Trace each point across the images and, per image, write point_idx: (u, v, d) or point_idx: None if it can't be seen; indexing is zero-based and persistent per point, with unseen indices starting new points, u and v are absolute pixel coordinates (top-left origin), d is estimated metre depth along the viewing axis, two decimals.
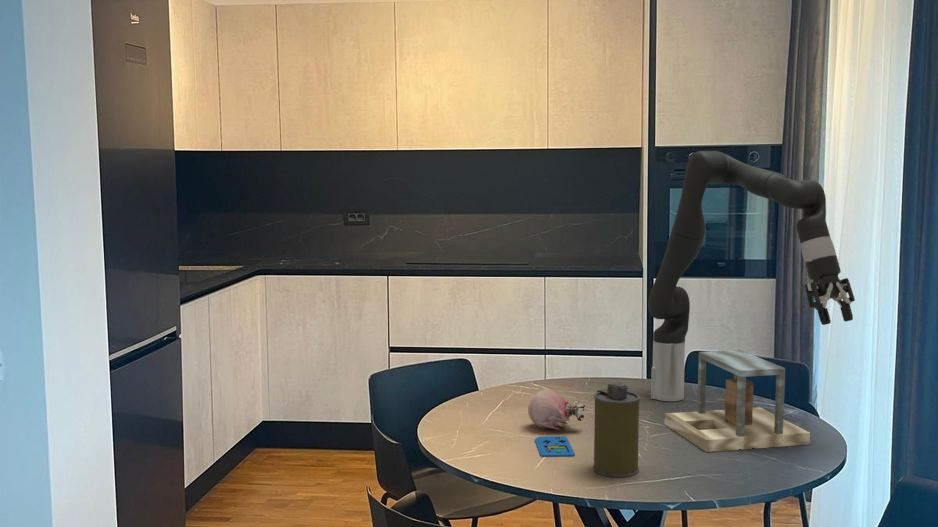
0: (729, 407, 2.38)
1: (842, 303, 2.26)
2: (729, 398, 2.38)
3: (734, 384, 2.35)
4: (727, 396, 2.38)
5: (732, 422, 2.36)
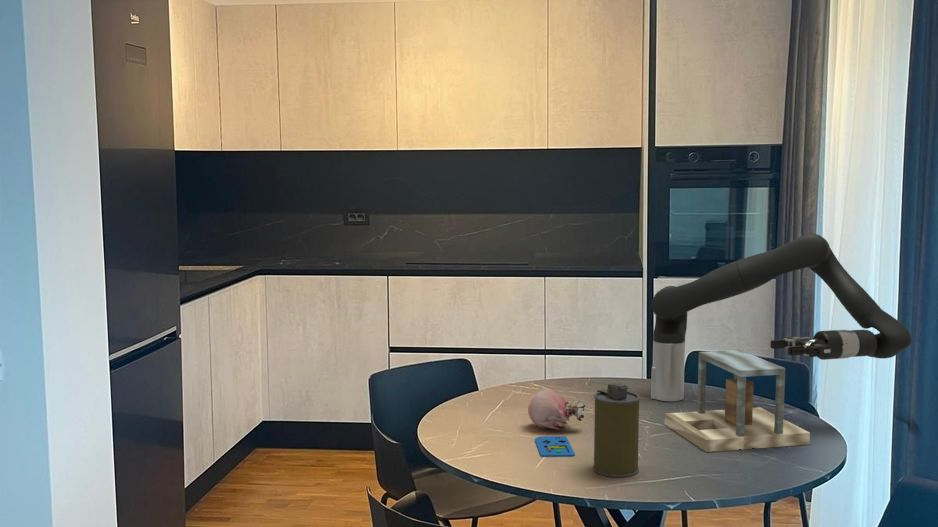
0: (729, 407, 2.38)
1: (786, 342, 2.43)
2: (729, 398, 2.38)
3: (734, 384, 2.35)
4: (727, 396, 2.38)
5: (732, 422, 2.36)
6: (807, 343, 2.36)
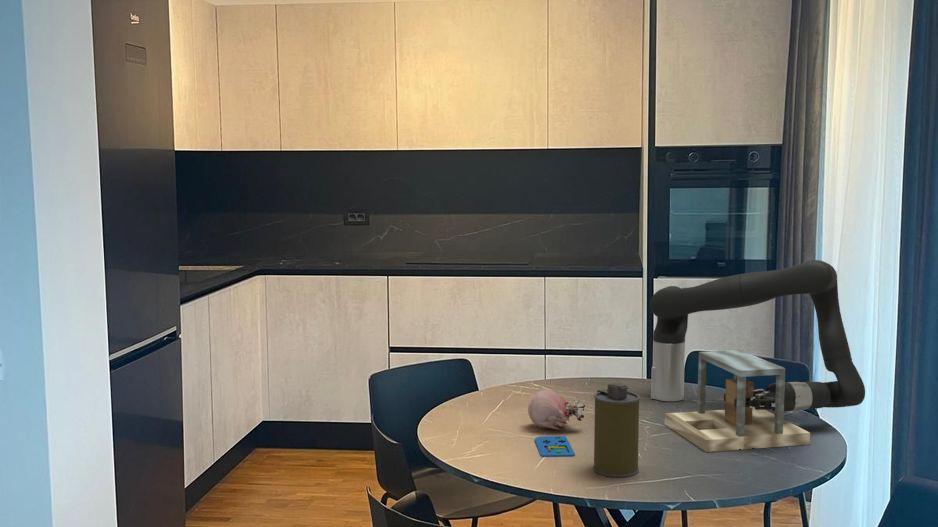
0: (729, 407, 2.38)
1: None
2: (729, 398, 2.38)
3: (734, 384, 2.35)
4: (727, 396, 2.38)
5: (732, 422, 2.36)
6: (756, 395, 2.36)
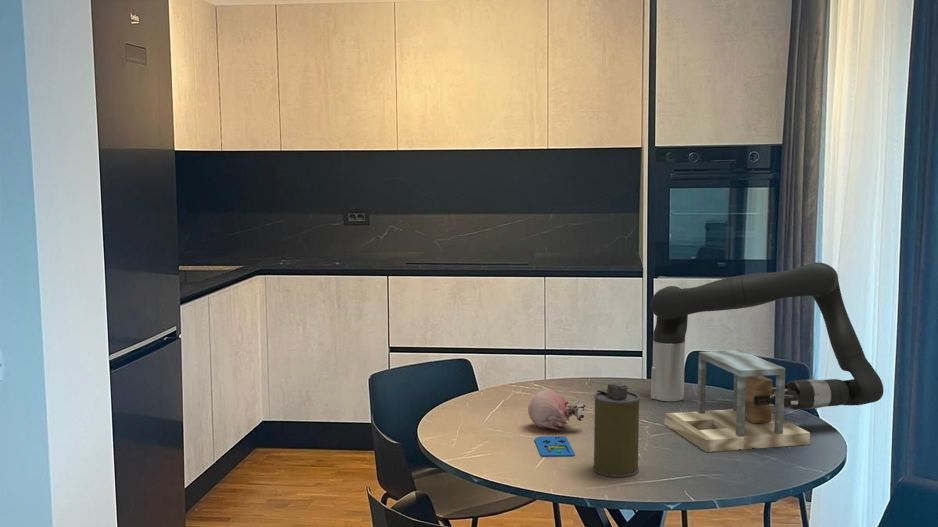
0: (748, 405, 2.39)
1: None
2: (748, 396, 2.39)
3: (753, 382, 2.36)
4: (746, 394, 2.39)
5: (751, 420, 2.37)
6: (775, 393, 2.37)
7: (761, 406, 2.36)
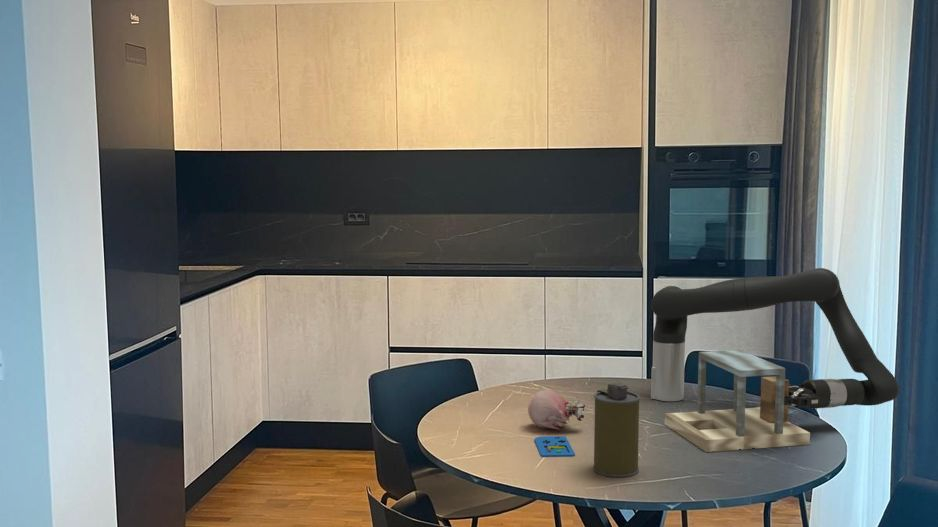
0: (764, 405, 2.40)
1: None
2: (764, 396, 2.40)
3: (770, 382, 2.37)
4: (762, 394, 2.41)
5: (768, 420, 2.38)
6: (795, 393, 2.37)
7: None
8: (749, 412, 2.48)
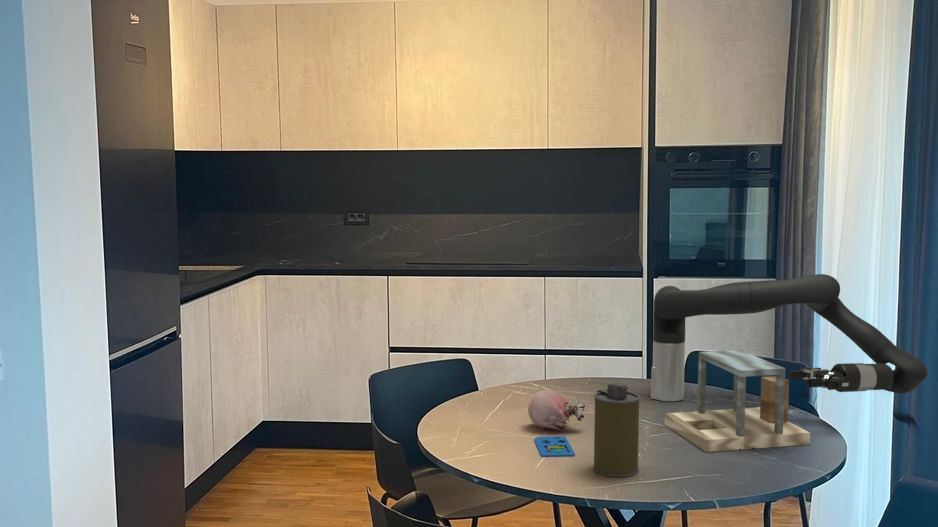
0: (764, 405, 2.40)
1: (805, 373, 2.48)
2: (764, 396, 2.40)
3: (770, 382, 2.37)
4: (762, 394, 2.41)
5: (768, 420, 2.38)
6: (826, 376, 2.40)
7: None
8: (749, 412, 2.48)
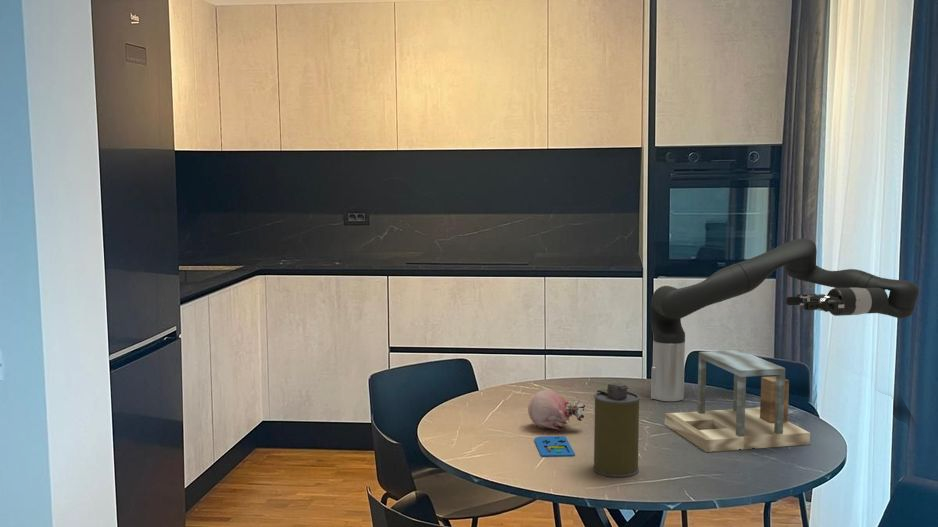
0: (764, 405, 2.40)
1: (801, 299, 2.53)
2: (764, 396, 2.40)
3: (770, 382, 2.37)
4: (762, 394, 2.41)
5: (768, 420, 2.38)
6: (822, 299, 2.46)
7: None
8: (749, 412, 2.48)
